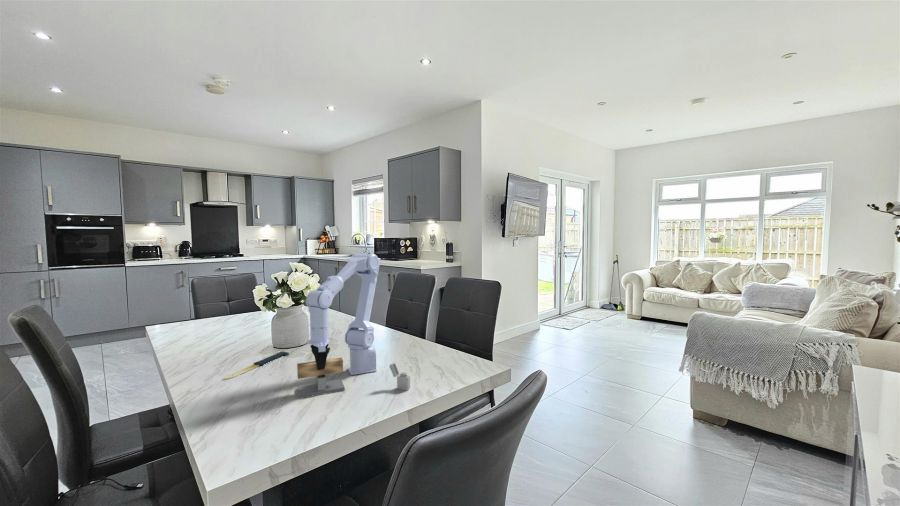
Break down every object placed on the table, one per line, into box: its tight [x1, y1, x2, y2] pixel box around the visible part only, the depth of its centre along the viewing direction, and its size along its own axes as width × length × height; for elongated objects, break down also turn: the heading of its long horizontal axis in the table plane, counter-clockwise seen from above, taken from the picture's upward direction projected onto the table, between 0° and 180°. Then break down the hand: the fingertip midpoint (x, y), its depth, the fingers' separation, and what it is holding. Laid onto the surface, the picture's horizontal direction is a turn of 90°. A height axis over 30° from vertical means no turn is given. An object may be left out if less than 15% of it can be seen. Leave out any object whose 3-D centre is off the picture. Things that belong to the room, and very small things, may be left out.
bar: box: [296, 357, 344, 380], centre depth 121 cm, size 14×3×4 cm, turn 114°
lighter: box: [389, 362, 411, 392], centre depth 122 cm, size 7×2×8 cm, turn 66°
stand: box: [297, 375, 346, 399], centre depth 122 cm, size 14×8×5 cm, turn 114°
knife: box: [223, 351, 290, 381], centre depth 145 cm, size 4×2×30 cm
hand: (320, 367), depth 122 cm, fingers closed on bar, 3 cm apart
